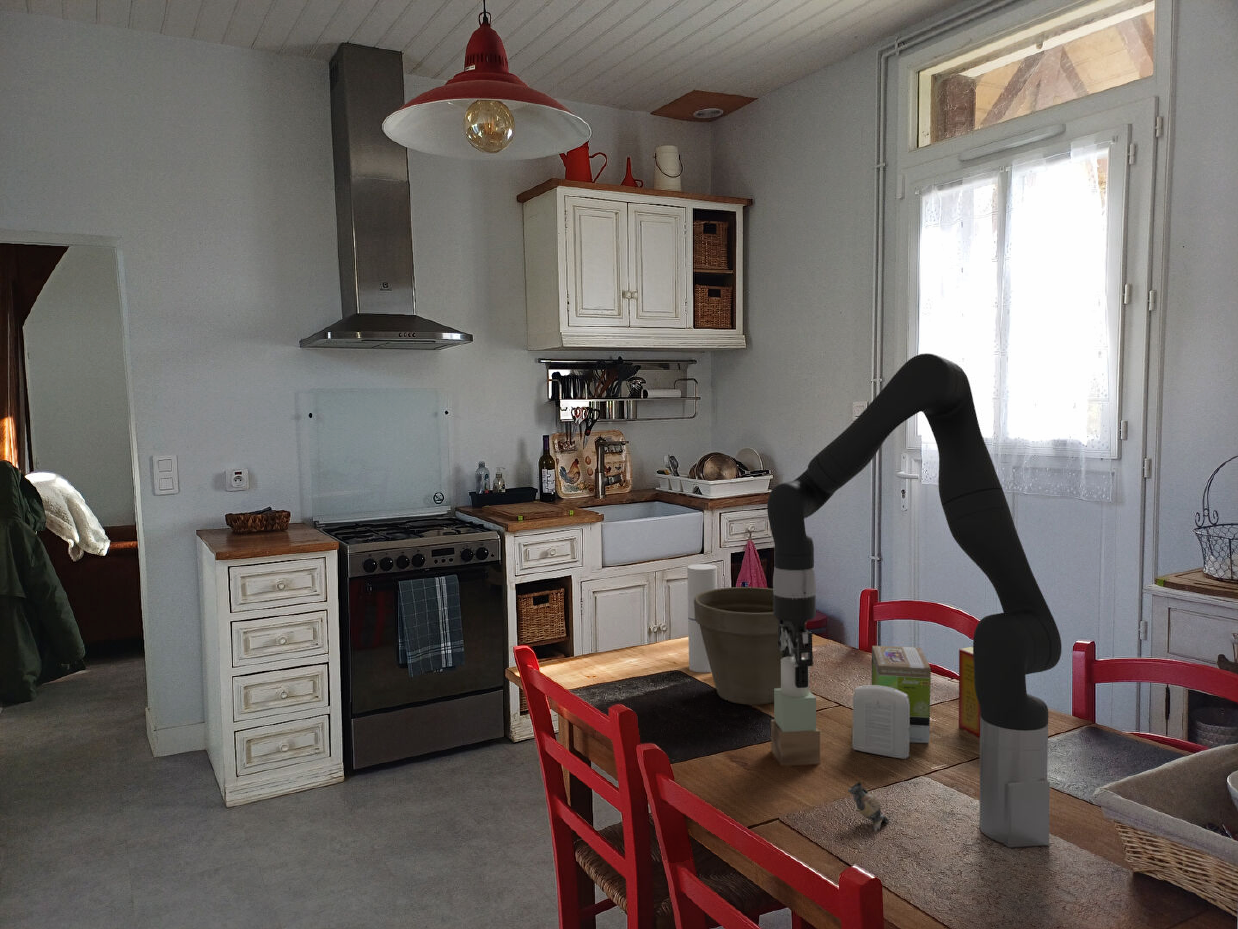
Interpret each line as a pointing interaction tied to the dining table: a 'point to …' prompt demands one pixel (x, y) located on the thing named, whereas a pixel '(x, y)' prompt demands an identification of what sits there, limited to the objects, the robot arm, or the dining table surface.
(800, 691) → the white cylinder peg
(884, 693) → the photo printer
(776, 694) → the tower top
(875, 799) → the animal figurine
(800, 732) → the tower base
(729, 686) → the plant pot
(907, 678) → the tea box
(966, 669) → the baking soda box
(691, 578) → the cylindrical container
